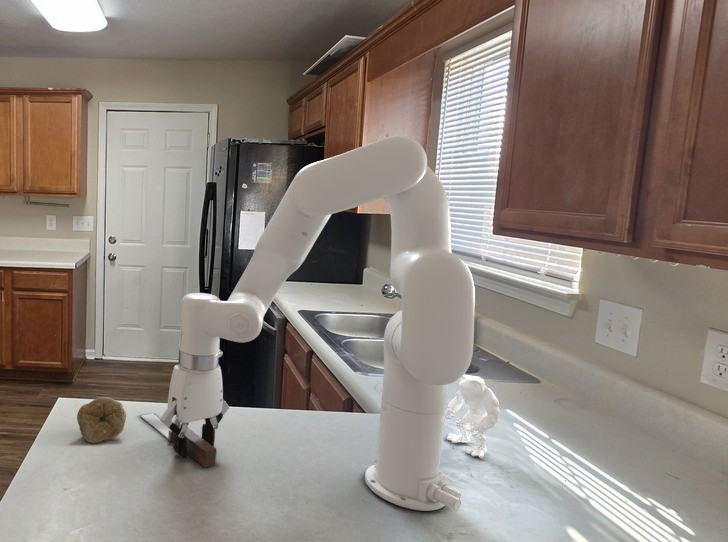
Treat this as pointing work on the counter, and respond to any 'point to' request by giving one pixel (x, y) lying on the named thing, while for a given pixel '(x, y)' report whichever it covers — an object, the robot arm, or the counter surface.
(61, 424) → the counter surface
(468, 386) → the figurine
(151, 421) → the knife
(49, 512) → the counter surface
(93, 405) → the fossil
